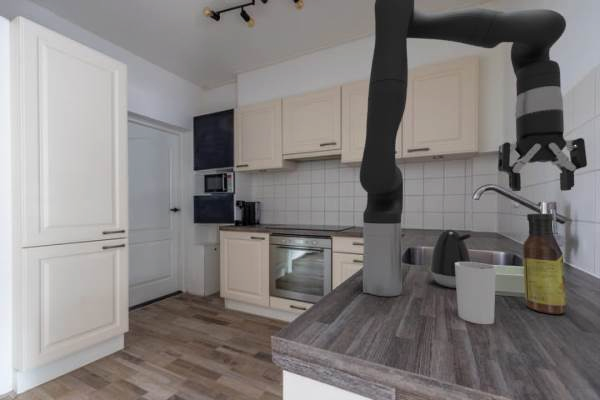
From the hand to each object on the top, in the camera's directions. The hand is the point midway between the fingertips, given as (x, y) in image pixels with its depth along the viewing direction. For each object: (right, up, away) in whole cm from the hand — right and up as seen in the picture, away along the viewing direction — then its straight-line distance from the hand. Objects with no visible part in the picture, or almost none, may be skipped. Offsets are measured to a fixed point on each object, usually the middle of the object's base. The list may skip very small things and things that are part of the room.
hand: (540, 190), depth 56 cm
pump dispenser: (-9, -25, +17) cm, 32 cm away
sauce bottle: (0, -25, -1) cm, 25 cm away
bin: (+3, -25, +13) cm, 28 cm away
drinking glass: (-17, -25, -5) cm, 30 cm away
